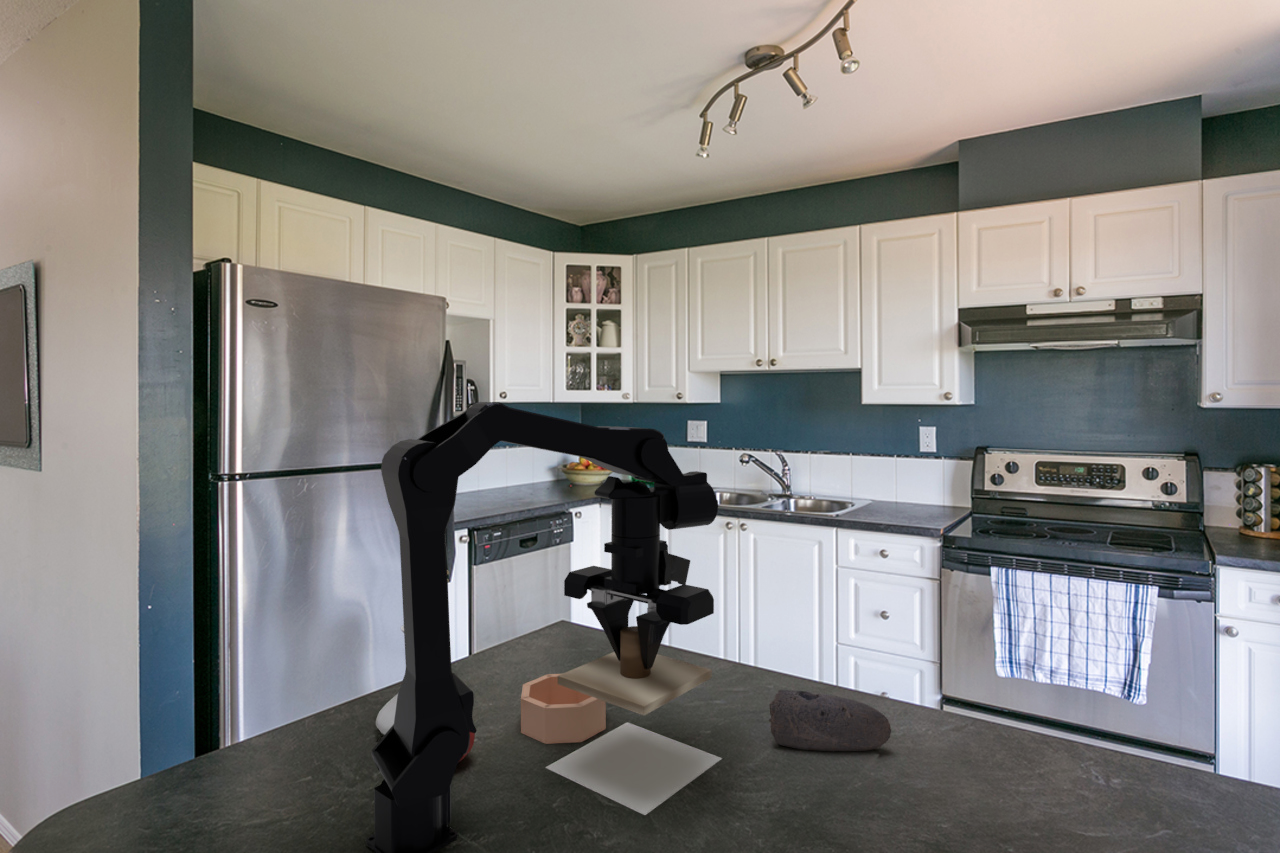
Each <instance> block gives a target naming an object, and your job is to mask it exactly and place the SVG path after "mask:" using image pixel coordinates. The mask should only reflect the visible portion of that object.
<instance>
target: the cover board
mask: <svg viewBox="0 0 1280 853" xmlns="http://www.w3.org/2000/svg"><path fill="white" fill-rule="evenodd" d="M712 672H713V671H712V669H710V668H707V667H705V666H704V667H703V666H701V665H700V666H699V665H697V664H693V663H689V662H686V661H684V660H683V661H682V660H679V659H675V658H673V657H669V656H665V655H661V654H659V653H657V655H656V658H655V661H654V664H653V666H652V668H650V669H648V670H647V669H645V668H644V665H643V661H642V657H641V649H640V642H639V635H638V628H637V625H633V626H632V625H631V626H628V627H626V628H623V629H621V631H620V661H619V660H618V658H617V656H616V654H615V652H614V651H613V652H610V653H608V654H606V655H604V656H601V657H599V658H596V659H594V660H592V661H589V662H586V663H585V664H582V665H580V666H577V667H575V668H573V669H571V670H568V671H565V672H563V673H560V674H561V675H558V684H559V685H561V686H564V687H567V688H570V689H572V690H575V691H578V692H580V693H583V694H586V695H589V696H591V697H594V698H597V699H600V700H602V701H605V702H606V703H609V704H611V705H612V706H613V705H614V706H616V707H620V708H622V709H625V710H627V711H631V712H633V713H637V714H638V715H641V716H646V715H649V714H650V713H651V712H654V711H655V710H657V709H658V708H660V707H662V706H664V705H666V704H667V703H670V702H671V701H673V700H675V699H677V698H678V697H680V696H682V695H684V694H685V693H688V692H689V691H690V690H691V691H692V689H695V688H696V687H698V686H699V685H701V684H704V683H706V682H707V681H708V680H710V679H712V677H713V676H712Z"/></svg>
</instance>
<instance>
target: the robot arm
mask: <svg viewBox="0 0 1280 853" xmlns="http://www.w3.org/2000/svg"><path fill="white" fill-rule="evenodd" d="M500 442H502V443H508V444H512V445H518V446H524V447H529V448H533V449H538V450H543V451H549V452H553V453H559V454H565V455H569V456H575V457H580V458H582V459H584V460H586V461H588V462H590V463H592V464H593V465H596V466H597V467H600V468H603V469H605V470H608V471H609V472H610V471H611V472H613V473H615V474H619V475H625V476H630V477H631V478H633V479H634V481H633V480H632V481H622V479H620V478H619V477H617V476H611V475H609V476H607V477H606V479H605V481H604V482H603V483H602V484H601V485H599V486H598V487H597V488H596V489H595V490H594V495H595V496H596V497H599V498H603V499H609V500H611V538H610V540H611V541H609V542H604V545H603V547H604V548H603V549H604V550H603V552H604V553H610V555H611V557H610V558H611V559H610V560H611V568H607V567H601V566H596V565H590V566H587V567H584V568H580V569H576V570H573V571H569V572H568V574H567V576H566V577H565V578H564V580H563V581H564V582H563V584H564V586H563V589H564V590H563V591H564V596H565V597H568V598H572V599H577V600H581V599H584V598H585V596H586V595H587V594H588V591H590V593H591V597H590V598H591V599H590V600H591V601H589V602H587V603H586V606H587V608H588V609H590V610H591V611H592V613H593V614H594V615H595V617H596V619H597V621H598V622H599V623H598V624H600V626H601V628H602V630H603V631H604V634H605V635H606V637H607V640H608V641H609V643H610V646H611V648H612V650H613V652H615V654H616V656H617V658H618V660H619V661H620V631H621V629H623V628H626V627H629V613H630V611H631V609H632V606H633V603H634V602H638V603H642V604H643V603H644V604H647V610H646V612H645V613H642V614H640V615H636V617H635V619H636V621H635V622H636V626H637V628H638V635H639V642H640V649H641V657H642V661H643V665H644V668H645V669H647V670H648V669H650V668H652V666H653V664H654V661H655V658H656V655H657V654H659V649H660V647H661V644H662V641H663V638H664V636H665V634H666V633H667V630H668V628H669V626H670V624H671V623H672V624H677V625H683V626H685V625H690V624H692V623H694V622H697V621H699V620H701V619H704V618H706V617H708V616H710V615H711V616H712V615H714V613H715V604H714V603H715V599H714V597H713V594H712V593H711V591H710V590H709V589H708V588H704V587H699V586H694V585H689V584H686V583H687V580H688V575H689V570H690V564H691V560H690V559H688V558H685V557H682V556H680V555H679V556H678V555H675V554H671V553H669V545H668V543H667V540H663V539H662V540H661V526H662V528H664V529H665V530H679V529H686V528H687V529H688V528H695V527H696V528H697V527H703V526H709V525H711V524H713V522H714V521H715V520H716V517H717V515H718V512H719V511H718V510H719V501H718V499H717V497H716V493H715V491H714V488H713V487H712V485H711V484H710V483H709V482H708V473H707V472H704V471H698V470H697V471H695V470H693V471H688V472H685V473H683V472H682V470H681V469H680V467H679V466H678V464H677V462H676V461H675V459H674V458H673V456H672V454H671V453H670V451H669V446H668V442H667V441H666V438H665V435H664V433H662V432H661V431H659V430H657V429H654V428H647V427H645V428H644V427H635V426H634V427H631V426H629V427H628V426H604V425H603V426H599V425H598V426H595V425H589V424H586V423H581V422H577V421H573V420H568V419H563V418H559V417H554V416H550V415H545V414H541V413H536V412H533V411H528V410H524V409H519V408H514V407H510V406H507V405H506V404H504V403H502V402H496V401H478V402H476V403H473V404H472V405H471V406H469V407H468V408H467V409H466V410H464V411H463V412H461V413H460V414H458V415H457V416H454V417H453V418H451V419H449V420H448V421H445V422H444V423H442V424H440V425H438V426H437V427H434V428H432V429H431V430H429V431H427V432H426V433H424V434H422V435H421V436H420V437H418V438H416V439H415V438H414V439H412V438H408V439H403V440H401V441H399V442H397V443H395V444H393V445H392V446H391V447H390V448H389V449H388V451H386V453H384V454H383V457H382V461H381V465H380V466H381V467H380V471H381V477H382V481H383V485H384V489H385V490H384V491H385V494H386V497H387V502H388V504H389V508H390V511H391V513H392V516H393V519H394V521H395V525H396V527H397V531H398V536H399V549H400V550H399V552H400V571H401V574H400V575H401V594H402V612H403V613H402V616H403V625H404V633H403V634H404V635H403V637H404V638H403V639H404V657H405V659H404V660H405V670H404V671H405V672H404V676H403V678H402V680H401V684H400V688H399V689H398V690H399V691H398V693H397V694H398V696H397V704H396V712H395V719H394V724H393V726H392V727H391V728H390V729H389V730H388V732H387V733H386V734H385V735H384V734H383V736H382V738H380V740H379V741H378V742H377V743H376V744H375V745H374V747H373V748H372V749H371V750H370V754H371V757H372V760H373V761H374V764H375V766H376V769H377V770H378V771H379V772H380V774H381V775H382V777H383V779H382V781H381V784H379V785H377V786H375V787H374V788H373V789H374V790H373V794H374V796H373V797H374V798H373V799H374V806H373V807H374V810H373V811H374V834H371V835H370V836H368V837H366V839H365V846H367V847H368V848H369V849H371V850H372V851H373V852H374V853H435V852H437V851H439V850H441V849H442V848H444V847H446V846H448V845H449V844H451V843H453V842H455V841H456V840H457V839H458V832H457V831H456V830H455V829H453V828H452V827H450V825H451V822H452V802H451V801H452V799H451V798H452V796H451V795H452V792H451V791H452V790H451V788H452V787H451V786H452V781H453V778H454V775H455V772H456V770H457V766H458V763H460V762H461V761H462V760H461V758H462V757H463V755H465V754H466V753H467V751H468V748H469V744H470V732H472V733H475V734H476V733H477V731H478V730H477V728H476V725H475V723H474V718H473V711H474V703H475V702H474V701H475V700H474V699H475V696H474V691H473V690H472V689H471V688H470V687H469V686H468V685H467V684H466V683H465V682H464V681H463V680H462V679H461V678H460V677H459V676H458V675H457V674H456V673H454V672H452V671H453V669H452V652H451V649H452V648H451V631H450V630H451V629H450V609H449V608H450V607H449V606H450V605H449V604H450V603H449V582H448V580H449V579H448V575H447V570H448V560H447V540H446V538H447V536H446V535H447V529H448V526H449V523H450V521H451V517H452V514H453V512H454V508H455V504H456V498H457V492H458V483H459V477H460V476H462V475H463V474H465V473H466V472H468V471H469V470H470V469H472V468H473V467H474V466H476V465H477V464H478V463H479V462H480V460H481V459H483V458H484V456H485V455H486V454H487V453H488V452H489V451H490V450H491V449H492V448H493V447H494V446H496V445H497V444H498V443H500ZM642 481H643V482H642ZM644 482H649V483H653V487H648V486H647V484H646V483H644ZM672 582H675V583H678V584H679V585H678V586H675V587H673V588H670V589H662V588H660V586H669V585H671V584H672ZM460 760H461V761H460ZM459 761H460V762H459Z"/></svg>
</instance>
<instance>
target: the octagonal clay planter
mask: <svg viewBox="0 0 1280 853" xmlns="http://www.w3.org/2000/svg"><path fill="white" fill-rule="evenodd" d="M561 674H562V673H547V674H545V675H542V676H540V677H537V678H535V679H532V680H530V681H527V682H526V683H522V689H521V690H522V691H521V696H520V734H523V735H524V736H527V737H529V738H531V739H534V740H536V741H538V742H540V743H543V744H545V745H546V744H548V745H549V744H551V745H552V744H570V743H572V744H573V743H583V742H584V741H587V740H588V739H590V738H592V737H593V736H596V735H597V734H599V733H600V732H603V731H605V730H606V729H607V727H606V726H607V724H606V723H607V721H606V720H607V718H606V715H607V709H606V708H607V706H606V705H607V702H605V701H602V700H600V699H597V698H594V697H591V696H589V695H586V694H583V693H580V692H578V691H575V690H572V689H570V688H567V687H564V686H561V685H559V684H558V675H561Z"/></svg>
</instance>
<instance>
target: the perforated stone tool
mask: <svg viewBox="0 0 1280 853" xmlns="http://www.w3.org/2000/svg"><path fill="white" fill-rule="evenodd" d="M769 714H770V718H769V720H768V722H770V732H771V735H772V737H773V740H774V742H775V743H777V744H778V745H780V746H781V747H787V748H792V749H798V750H805V751H809V750H811V751H820V752H821V751H825V752H826V751H827V752H865V751H873V750H876V749H878V748H880V747H882V746H883V745H884V744H887V742H888V741H889V739H890V738H891V734H892V729H891V723H890V721H889V719H888V718H887V716H886V715H885V714H883V713H882V712H881V711H879V710H877V709H875V708H874V707H873V706H870V705H868V704H866V703H863V702H861V701H857V700H856V699H855V700H854V699H851V698H847V697H842V696H837V695H833V694H827V693H823V692H817V693H816V692H810V691H807V690H791V689H790V690H789V689H779V690H778V691H777V692H776V693H775V697H774V699H773V700H772V701H771V702H770V703H769Z"/></svg>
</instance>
